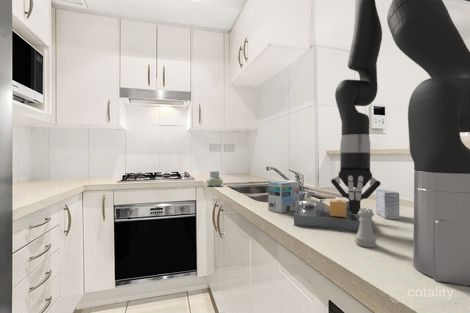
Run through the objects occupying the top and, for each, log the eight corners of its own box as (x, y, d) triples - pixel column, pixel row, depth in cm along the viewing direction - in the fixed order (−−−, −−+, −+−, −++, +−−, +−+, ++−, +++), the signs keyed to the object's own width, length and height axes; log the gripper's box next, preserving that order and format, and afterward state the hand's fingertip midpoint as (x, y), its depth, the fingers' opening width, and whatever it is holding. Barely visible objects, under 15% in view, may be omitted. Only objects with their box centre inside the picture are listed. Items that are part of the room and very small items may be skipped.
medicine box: (399, 220, 78) (400, 192, 78) (384, 219, 79) (384, 192, 79) (389, 214, 86) (389, 189, 86) (375, 213, 87) (375, 189, 87)
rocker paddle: (336, 212, 73) (338, 207, 73) (303, 199, 76) (304, 195, 76) (335, 209, 77) (337, 205, 77) (304, 197, 80) (305, 193, 80)
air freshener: (222, 185, 168) (222, 170, 168) (222, 186, 160) (223, 171, 160) (206, 185, 168) (206, 170, 168) (206, 186, 159) (206, 171, 159)
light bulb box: (281, 213, 85) (281, 182, 85) (267, 210, 91) (267, 181, 91) (300, 209, 92) (300, 180, 92) (285, 206, 97) (286, 179, 97)
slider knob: (345, 217, 68) (345, 200, 68) (330, 215, 69) (330, 199, 69) (344, 213, 71) (344, 198, 71) (329, 212, 73) (329, 197, 73)
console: (372, 233, 64) (372, 210, 64) (293, 225, 71) (294, 204, 71) (363, 218, 80) (363, 199, 80) (299, 212, 86) (299, 195, 87)
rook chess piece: (365, 249, 53) (365, 211, 53) (350, 242, 57) (350, 207, 57) (381, 247, 54) (382, 210, 54) (365, 240, 58) (366, 206, 58)
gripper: (329, 151, 68) (329, 213, 68) (384, 151, 63) (384, 218, 63) (329, 151, 75) (329, 208, 75) (379, 151, 70) (378, 212, 70)
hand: (354, 213), depth 69 cm, fingers closed
